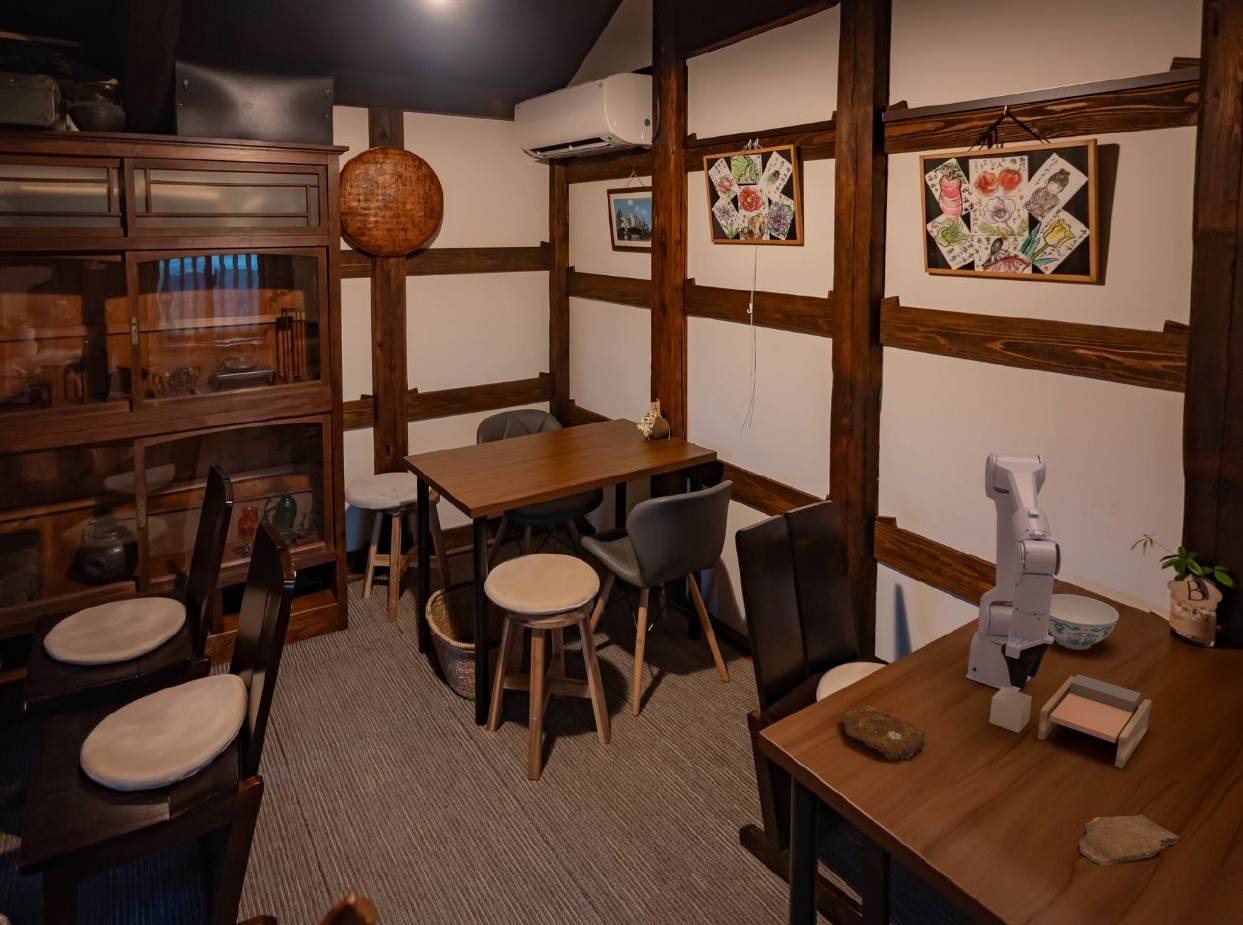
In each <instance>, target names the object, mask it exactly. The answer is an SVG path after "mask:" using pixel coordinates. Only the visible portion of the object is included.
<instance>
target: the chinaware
mask: <svg viewBox="0 0 1243 925" xmlns="http://www.w3.org/2000/svg"><path fill="white" fill-rule="evenodd" d="M1119 616H1120V615H1119V612H1118V611H1117V610H1116V609H1115V608H1114V607H1113V606H1111V605H1109V604H1107V603H1106V602H1103V601H1100V600H1098V599H1094V598H1092V597H1087V596H1081V595H1077V594H1068V593H1067V594H1065V593H1060V594H1058V593H1057V594H1055V593H1054V594H1052V598H1051V606H1050V614H1049V628H1048V634H1050V635H1051V636H1053V637H1054V640H1055V641H1056V644H1058V645H1060V646H1062V647H1065V648H1068V649H1072V650H1079V651H1080V650H1088V649H1090V648H1091V647H1092V645H1093V644H1097V643H1099V642H1101V641H1103V640H1104V639H1105V638H1106V637H1108V636H1109V635H1110V634H1111V633H1112V631H1113V630H1114V629H1115V626H1116V625H1117V622H1118V620H1119Z"/></svg>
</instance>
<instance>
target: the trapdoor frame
mask: <svg viewBox="0 0 1243 925" xmlns="http://www.w3.org/2000/svg"><path fill="white" fill-rule="evenodd" d="M1075 677H1076V676H1072V675H1070V676H1069V677H1068V679H1066V681H1065V682H1064V683H1063V684H1062V685H1061V686H1060V687H1059V688H1058V690H1057V691H1056V692H1055V693H1054V694H1053V696H1052V697H1050V699H1049V700H1048V701H1047V702H1046V703H1045V704H1044V705H1043V707H1041V709H1040V715H1039V724H1038V731H1037V732H1038V733H1037V739H1038V740H1041V741H1045V740H1046V738H1047V737H1048V736H1049V735H1050V734H1051V732H1052V731H1053V730H1054V729H1055V728H1056V726H1057V725H1059V724H1058V723H1055V722H1052V721H1049V720H1050V715H1051V714H1052V712H1053V711H1054V710H1055V709H1056V708H1057V707H1058V705H1059V704H1060V703H1061V702H1062V701H1063V700H1064V698H1065V697H1066V696H1067V695H1068V694H1069V692H1070V685H1071V682H1072V681H1073V679H1074V678H1075ZM1151 708H1152V700H1150V699H1148V698H1144V700H1143V702H1142V703H1141V704H1139V709H1138V710H1137V711H1136V713H1135V714H1134V716H1133V717H1132V719H1131V720H1130V722H1129V723H1128V724H1127V726H1126V727H1125V729H1124V730H1123V732H1122V733H1121V735H1120V736H1119V738H1118V746H1117V750H1116V751H1117V752H1116V758H1115V764H1114V767H1117V768H1120V769H1123V768H1124V766H1125V765H1126V763H1127V761H1128V760H1129V759H1130V758H1131V755H1132V753H1133V752H1134V751H1135V749H1136V748H1137V746H1138V745H1139V743H1140V741H1141V740H1142V738H1143V736H1144V735H1145V734H1146V732H1147V731H1148V728H1149V720H1150V715H1151V710H1152V709H1151Z"/></svg>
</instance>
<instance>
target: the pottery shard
mask: <svg viewBox="0 0 1243 925" xmlns="http://www.w3.org/2000/svg"><path fill="white" fill-rule="evenodd" d="M1084 830H1085V835H1083V837H1082V838H1080V840H1079V841H1078V844H1079V845H1078V846H1079V853H1080V854H1081V855H1083V857H1085V858H1087V859H1088V860H1090V861H1092V862H1094V863H1097V864H1098V865H1100V866H1101V867H1102V866H1103V867H1105V866H1107V867H1108V866H1111V865H1115V864H1122V863H1125V862H1129V861H1138V860H1142V859H1147V858H1151V857H1154V856H1155V855H1157V853H1158V852H1160V851H1161V850H1164V849H1165V848H1166V847H1168V846H1172V845H1176V844H1177V843H1178V841H1180V839H1181V838H1180V836H1179V835H1177V834H1176V833H1173V832H1171V831H1169V830H1168V829H1166V828H1163V827H1161V826H1160V825H1158V824H1157V823H1155V822H1153V821H1152V820H1150V819H1148V818H1147V817H1146V816H1145V815H1143V814H1137V815H1134V816H1133V815H1124V816H1122V815H1117V816H1111V817H1110V816H1109V817H1108V816H1101V817H1099V816H1097V817H1093V818H1092V820H1091V821H1089V822H1088V821H1087V822H1085V827H1084Z"/></svg>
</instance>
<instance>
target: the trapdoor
mask: <svg viewBox="0 0 1243 925" xmlns="http://www.w3.org/2000/svg"><path fill="white" fill-rule="evenodd" d="M1074 677H1075V678H1074V679H1073V681H1072V682H1071V685H1070V692H1069V694H1068V695H1067V696H1066V697H1065V698H1064V700H1063V701H1062V702H1061V703H1060V704H1059V705H1058V707H1057V708H1056V709H1055V710H1054V711H1053V712H1052V714H1051V715H1050V720H1049V721H1052V722H1055V723H1058V724H1057V725H1061V726H1064V727H1066V728H1070V729H1073V730H1076V731H1079V732H1082V733H1085V734H1087V735H1090V736H1094V737H1095V738H1098V739H1101V740H1105V741H1108V742H1110V743H1114V744H1115V743H1116V742H1117V741H1118V740H1119V736H1120V735H1121V733H1122V732H1123V730H1124V729H1125V727H1126V726H1127V724H1128V723H1129V722H1130V720H1131V719H1132V717H1133V716H1134V714H1135V713H1136V711H1137V710H1138V709H1139V705H1140V702H1141V694H1142V693H1140V692H1138V691H1134V690H1132V689H1130V688H1129V689H1128V688H1126V687H1125V688H1124V687H1121V686H1119V685H1115V684H1112V683H1109V682H1105V681H1102V680H1099V679H1095V678H1091V677H1089V676H1086V675H1085V676H1084V675H1082V674H1077V675H1076V676H1074Z"/></svg>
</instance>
